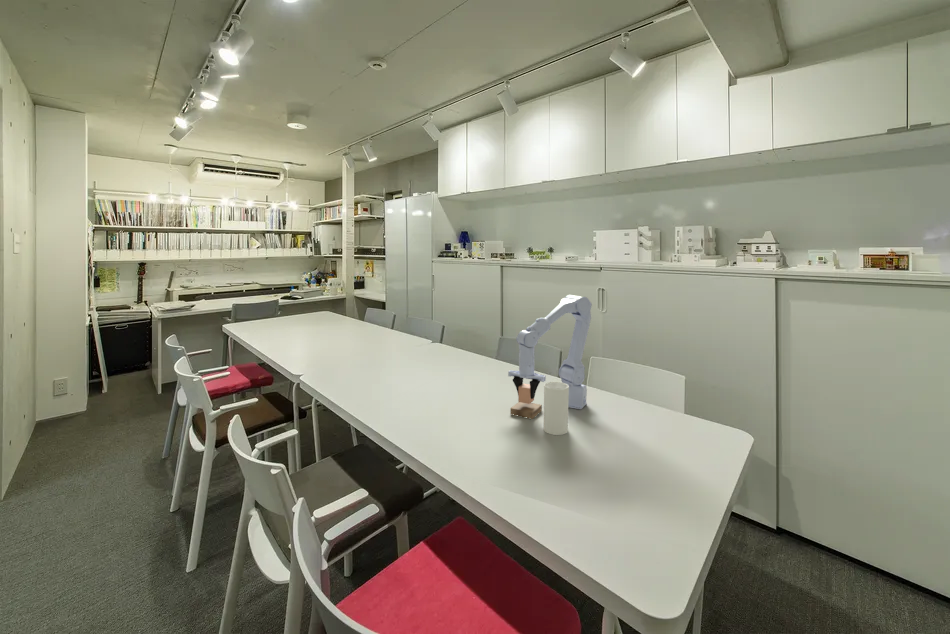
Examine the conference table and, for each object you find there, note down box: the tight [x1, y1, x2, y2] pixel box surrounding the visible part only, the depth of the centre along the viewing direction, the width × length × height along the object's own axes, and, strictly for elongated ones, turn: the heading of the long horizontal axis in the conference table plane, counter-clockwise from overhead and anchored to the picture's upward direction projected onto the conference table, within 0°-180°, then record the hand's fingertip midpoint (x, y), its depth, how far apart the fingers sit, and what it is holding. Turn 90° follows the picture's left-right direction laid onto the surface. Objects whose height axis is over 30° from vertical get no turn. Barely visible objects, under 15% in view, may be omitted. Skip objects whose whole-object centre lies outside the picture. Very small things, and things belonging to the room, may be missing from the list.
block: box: [517, 382, 535, 404], centre depth 154 cm, size 4×4×6 cm
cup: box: [543, 381, 569, 436], centre depth 139 cm, size 8×8×16 cm
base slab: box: [509, 401, 543, 420], centre depth 155 cm, size 9×9×3 cm
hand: (526, 396), depth 154 cm, fingers closed on block, 4 cm apart
